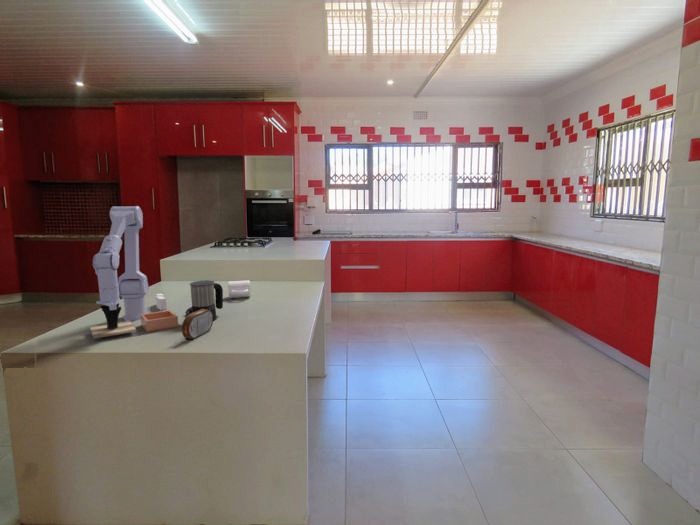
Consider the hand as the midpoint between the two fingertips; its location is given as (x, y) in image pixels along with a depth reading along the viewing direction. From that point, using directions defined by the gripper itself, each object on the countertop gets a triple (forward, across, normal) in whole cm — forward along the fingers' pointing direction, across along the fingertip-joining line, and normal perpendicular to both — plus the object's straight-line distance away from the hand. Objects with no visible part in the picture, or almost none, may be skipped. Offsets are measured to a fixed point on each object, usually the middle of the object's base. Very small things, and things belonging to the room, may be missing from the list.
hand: (112, 326), depth 144 cm
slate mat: (+3, 0, 0) cm, 3 cm away
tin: (+4, +18, +24) cm, 30 cm away
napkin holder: (+4, -32, +23) cm, 39 cm away
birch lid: (+2, 0, 0) cm, 2 cm away
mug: (+4, -26, +56) cm, 62 cm away
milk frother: (+4, -4, +31) cm, 31 cm away
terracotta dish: (+3, 0, +15) cm, 15 cm away
